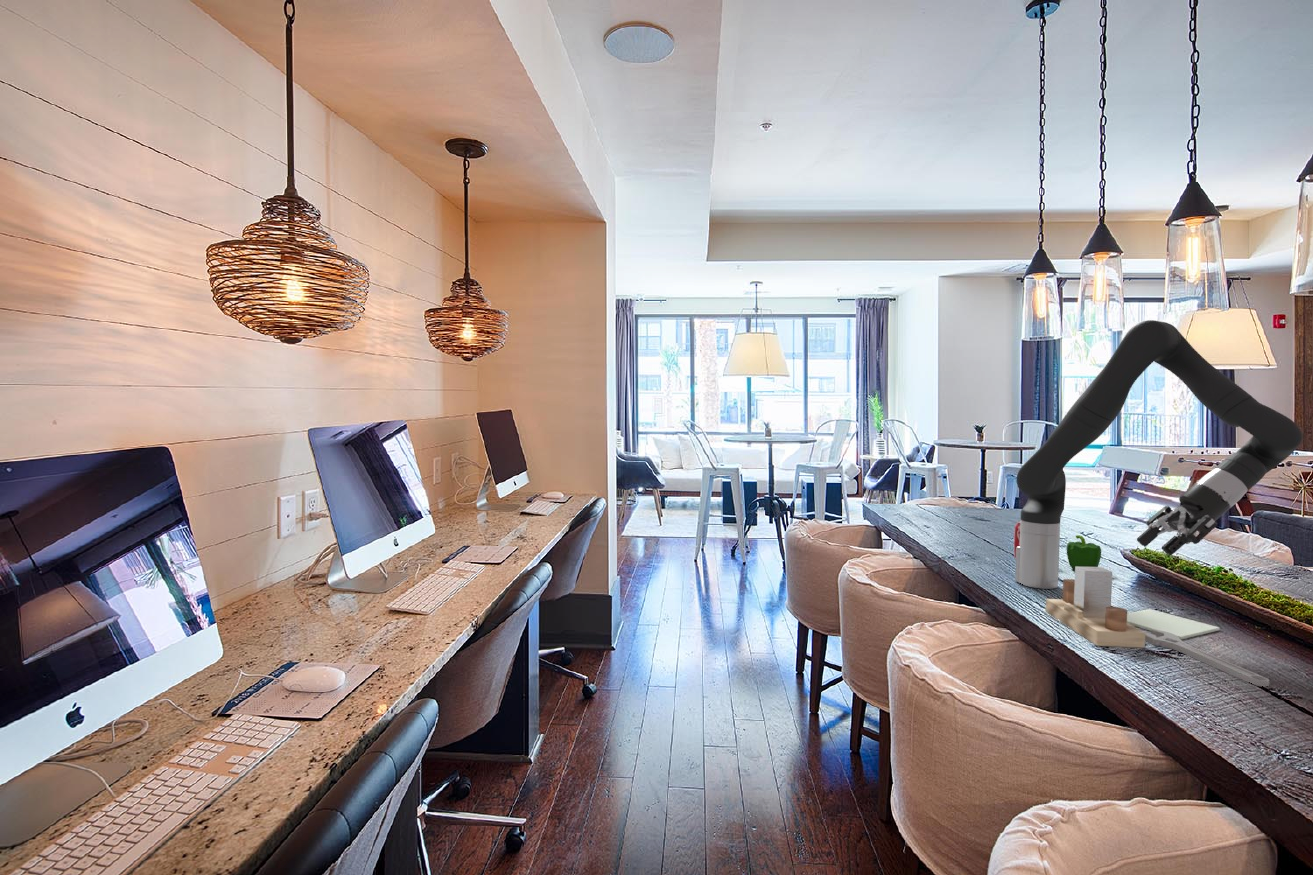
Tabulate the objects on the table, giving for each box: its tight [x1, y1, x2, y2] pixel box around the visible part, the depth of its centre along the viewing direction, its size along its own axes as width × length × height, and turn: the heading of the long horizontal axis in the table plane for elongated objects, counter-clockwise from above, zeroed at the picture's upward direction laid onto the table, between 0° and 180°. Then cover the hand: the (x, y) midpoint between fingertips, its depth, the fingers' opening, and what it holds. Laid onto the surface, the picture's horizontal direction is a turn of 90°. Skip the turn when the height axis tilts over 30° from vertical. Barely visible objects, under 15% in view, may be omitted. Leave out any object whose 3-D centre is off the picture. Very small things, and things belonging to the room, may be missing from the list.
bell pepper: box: [1066, 534, 1102, 571], centre depth 194 cm, size 8×8×10 cm
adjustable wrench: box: [1144, 629, 1270, 688], centre depth 128 cm, size 25×6×2 cm, turn 0°
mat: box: [1127, 608, 1221, 640], centre depth 147 cm, size 14×14×1 cm
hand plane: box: [1045, 578, 1146, 648], centre depth 145 cm, size 22×9×8 cm, turn 174°
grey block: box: [1074, 566, 1113, 618], centre depth 144 cm, size 4×6×10 cm
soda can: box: [1013, 519, 1021, 559], centre depth 206 cm, size 7×7×12 cm
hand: (1152, 547), depth 143 cm, fingers open, 8 cm apart
